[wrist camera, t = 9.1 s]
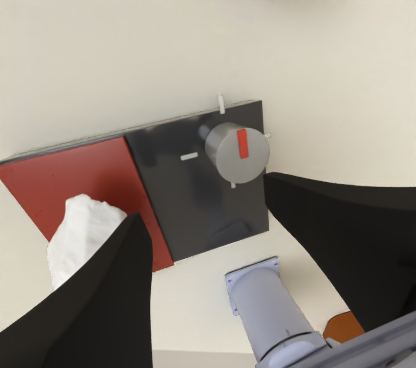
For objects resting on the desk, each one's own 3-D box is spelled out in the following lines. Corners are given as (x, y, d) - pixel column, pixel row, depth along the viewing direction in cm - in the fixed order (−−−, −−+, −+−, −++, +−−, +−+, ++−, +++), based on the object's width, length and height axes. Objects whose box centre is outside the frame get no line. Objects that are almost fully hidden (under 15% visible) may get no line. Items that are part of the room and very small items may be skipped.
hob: (265, 219, 24) (274, 230, 22) (95, 274, 21) (88, 291, 19) (256, 85, 17) (269, 83, 15) (2, 141, 14) (-22, 148, 12)
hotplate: (173, 261, 20) (174, 265, 20) (90, 288, 19) (88, 294, 19) (124, 135, 14) (123, 136, 13) (-3, 165, 13) (-10, 168, 12)
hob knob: (250, 161, 17) (272, 177, 14) (209, 173, 17) (222, 191, 14) (246, 116, 16) (270, 122, 12) (200, 128, 15) (212, 137, 12)
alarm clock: (320, 340, 42) (383, 435, 30) (330, 317, 39) (406, 415, 27) (372, 323, 46) (448, 403, 34) (385, 300, 42) (476, 381, 30)
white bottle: (146, 176, 15) (140, 214, 10) (143, 283, 20) (138, 346, 15) (57, 171, 13) (-2, 215, 8) (77, 289, 18) (46, 362, 13)
